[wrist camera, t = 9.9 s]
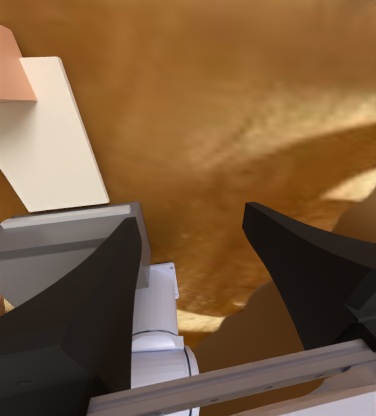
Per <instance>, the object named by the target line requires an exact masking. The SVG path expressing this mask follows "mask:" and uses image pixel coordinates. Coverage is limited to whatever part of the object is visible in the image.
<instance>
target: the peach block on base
mask: <svg viewBox="0 0 376 416" xmlns="http://www.w3.org/2000/svg"><path fill="white" fill-rule="evenodd" d="M0 169H1V170H2V172H3V173H4V175H5V176H6V178H7V179H8V181H9V182H10V184H11V185H12V187H13V188H14V190H15V191H16V193H17V194H18V196H19V197H20V199H21V200H22V202H23V203H24V205H25V207H26V208H27V210H28V211H29V212H34V211H43V210H51V209H60V208H69V207H77V206H86V205H95V204H103V203H109V201H110V200H109V197H108V194H107V192H106V189H105V186H104V183H103V180H102V177H101V174H100V171H99V168H98V166H97V163H96V160H95V157H94V154H93V151H92V148H91V145H90V142H89V139H88V137H87V134H86V131H85V128H84V125H83V122H82V119H81V116H80V113H79V111H78V108H77V105H76V102H75V99H74V96H73V93H72V90H71V87H70V84H69V82H68V79H67V76H66V73H65V70H64V67H63V64H62V61H61V58H59V57H32V58H23V57H22V55H21V52H20V50H19V48H18V45H17V43H16V41H15V38H14V36H13V34H12V32H11V30H9V29H7V28H5V27H3V26H1V25H0Z"/></svg>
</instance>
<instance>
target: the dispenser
mask: <svg viewBox="0 0 376 416" xmlns="http://www.w3.org/2000/svg"><path fill="white" fill-rule="evenodd" d="M128 217H136V220H137V224H138V228H139V232H140V235H141V239H142V255H141V261H140V267H139V273H138V279H137V284H136V289H142V288H148V287H149V275H150V258H151V247H150V243H149V239H148V235H147V231H146V226H145V222H144V218H143V214H142V210H141V205H140V202H132V203H124V204H115V205H107V206H98V207H90V208H81V209H73V210H64V211H55V212H47V213H38V214H30V215H21V216H13V217H11V218H10V219H6V220H5V221H3V222H2V223H1V224H0V225H1V226H0V295H1V296H2V297H4V298H5V299H6V300H7V301H8V302H9V303H10V304H11V305H13V306H14V307H15V308H16V307H18V306H19V305H21V304H23V303H24V302H26V301H28V300H29V299H31V298H33V297H34V296H36V295H37V294H39V293H40V292H42V291H43V290H45V289H46V288H48V287H49V286H51V285H52V284H54V283H55V282H57V281H58V280H59V279H61V278H62V277H63V276H65V275H66V274H67V273H69V272H70V271H71V270H73V269H74V268H75V267H77V266H78V265H79V264H80V263H82V262H83V261H84V260H85V259H86V258H87V257H89V256H90V255H91V254H92V253H93V252H94V251H95V250H96V249H97V248H98V247H99V246H100V245H101V244H102V243H103V242H104V241H105V240H106V239H107V238H108V237H109V236H110V235H111V234H112V233H113V231H114V230H115V229H116V228H117V227H118V226H119V225H120V223H121V222H122V221H123V220H124V219H125V218H128Z"/></svg>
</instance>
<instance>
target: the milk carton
mask: <svg viewBox="0 0 376 416" xmlns="http://www.w3.org/2000/svg"><path fill="white" fill-rule="evenodd" d="M4 314H6V313H5V306H4V299H3V297H2V296H1V295H0V317H1V316H2V315H4Z"/></svg>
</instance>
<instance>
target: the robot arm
mask: <svg viewBox="0 0 376 416" xmlns="http://www.w3.org/2000/svg"><path fill="white" fill-rule="evenodd" d="M242 228H243V230H244V233H245V235H246V237H247V239H248V241H249V242H250V244H251V245H252V247H253V248H254V250H255V251H256V253H257V254H258V256H259V257H260V259H261V260H262V262H263V263H264V265H265V266H266V268H267V270H268V271H269V273H270V275H271V277H272V279H273V281H274V283H275V284H276V286H277V288H278V290H279V292H280V294H281V296H282V299H283V301H284V303H285V304H286V307H287V309H288V311H289V313H290V316H291V318H292V320H293V322H294V325H295V327H296V330H297V332H298V334H299V337H300V339H301V342H302V344H303V347H304V349H305V351H303V352H298V353H294V354H289V355H285V356H280V357H275V358H271V359H266V360H262V361H257V362H253V363H248V364H243V365H239V366H234V367H230V368H225V369H220V370H216V371H212V372H207V373H203V374H199V371H198V366H197V362H196V358H195V356H194V354H193V352H192V351H191V349H190V348H189V347H188V346H186V345H185V346H184V343H183V336H178V324H177V312H176V300H175V299H177V298H179V294H178V287H177V280H176V274H175V267H174V263H173V262H169V263H162V264H156V265H150V275H149V287H148V288H142V289H136V284H137V279H138V273H139V267H140V261H141V255H142V239H141V235H140V232H139V228H138V224H137V220H136V217H128V218H125V219H124V220H123V221H122V222H121V223H120V225H119V226H118V227H117V228H116V229H115V230H114V231H113V233H112V234H111V235H110V236H109V237H108V238H107V239H106V240H105V241H104V242H103V243H102V244H101V245H100V246H99V247H98V248H97V249H96V250H95V251H94V252H93V253H92V254H91V255H90V256H89V257H87V258H86V259H85V260H84V261H83V262H82V263H80V264H79V265H78V266H77V267H75V268H74V269H73V270H71V271H70V272H69V273H67V274H66V275H65V276H63V277H62V278H61V279H59V280H58V281H57V282H55V283H54V284H52V285H51V286H49V287H48V288H46V289H45V290H43V291H42V292H40V293H39V294H37V295H36V296H34V297H33V298H31V299H29V300H28V301H26V302H24V303H23V304H21V305H19V306H18V307H16V308H14V309H13V310H11V311H9V312H7V313H6V314H4V315H2V316H1V317H0V416H199V408H200V407H202V406H205V405H210V404H214V403H218V402H222V401H226V400H231V399H235V398H239V397H244V396H248V395H252V394H256V393H260V392H265V391H269V390H273V389H277V388H281V387H286V386H290V385H294V384H298V383H302V382H307V381H311V380H315V379H319V378H324V377H328V376H332V375H335V376H333V377H330V378H327V379H325V380H324V382H323V384H322V385H321V386H320V387H319V388H317V389H316V390H314V391H313V392H311V393H309V394H308V395H307V396H304V397H299V398H295V399H291V400H287V401H283V402H279V403H275V404H270V405H267V406H263V407H259V408H256V409H252V410H249V411H245V412H241V413H238V414H234V415H231V416H376V243H371V242H366V241H362V240H357V239H353V238H349V237H346V236H342V235H338V234H334V233H331V232H328V231H325V230H322V229H319V228H316V227H313V226H310V225H307V224H304V223H302V222H300V221H297V220H295V219H292V218H290V217H288V216H285V215H283V214H281V213H279V212H277V211H274V210H272V209H270V208H268V207H266V206H264V205H262V204H259V203H257V202H248V203H246V204H245V211H244V218H243V224H242ZM336 374H338V375H336Z"/></svg>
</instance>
